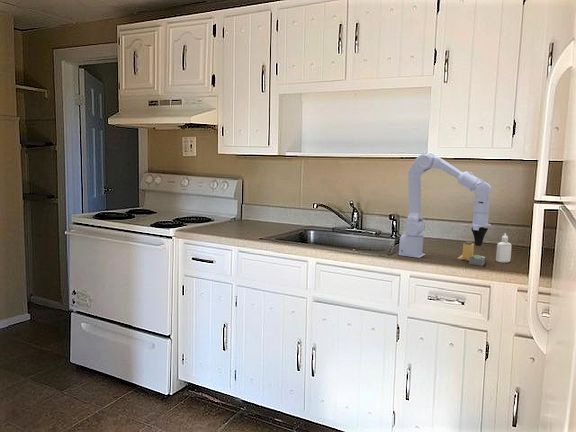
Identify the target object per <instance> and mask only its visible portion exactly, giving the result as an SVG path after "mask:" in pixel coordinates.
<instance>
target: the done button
mask: <svg viewBox="0 0 576 432" xmlns="http://www.w3.org/2000/svg"><path fill="white" fill-rule="evenodd" d="M473 255H474V258H475V259H481V256H482V255H480V254H473Z"/></svg>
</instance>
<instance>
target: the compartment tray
mask: <svg viewBox="0 0 576 432" xmlns="http://www.w3.org/2000/svg"><path fill="white" fill-rule="evenodd" d="M462 255H463V253H461V255H459V256H458V257H456V260H458V261H463V262H464V261H466V262H469V258H463V257H462ZM474 255H475V254H473V256H474ZM481 257H484V258H485V260H486V259H487V257H486V256H482V255H481Z"/></svg>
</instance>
